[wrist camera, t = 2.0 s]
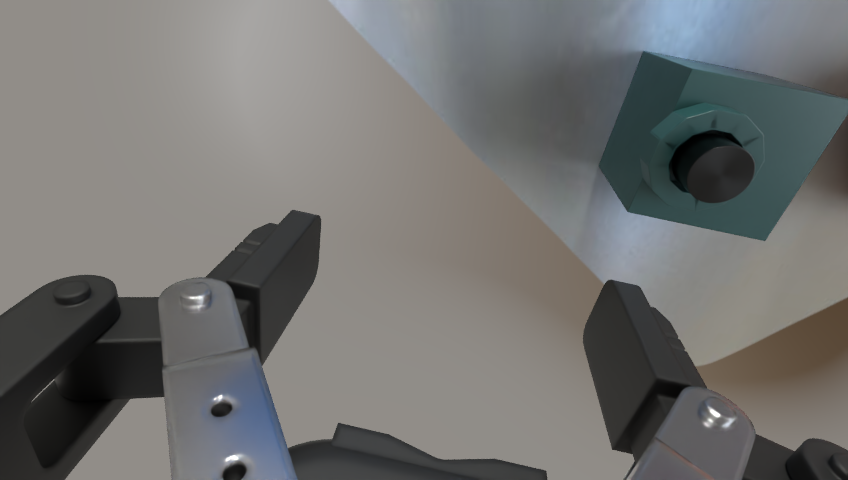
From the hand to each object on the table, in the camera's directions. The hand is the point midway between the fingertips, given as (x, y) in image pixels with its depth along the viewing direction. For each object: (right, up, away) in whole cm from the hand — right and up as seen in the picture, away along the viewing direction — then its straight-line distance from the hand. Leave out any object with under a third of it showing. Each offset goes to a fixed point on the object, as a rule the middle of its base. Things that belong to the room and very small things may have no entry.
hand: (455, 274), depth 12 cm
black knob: (+17, +6, +16) cm, 24 cm away
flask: (+21, +11, +26) cm, 35 cm away
